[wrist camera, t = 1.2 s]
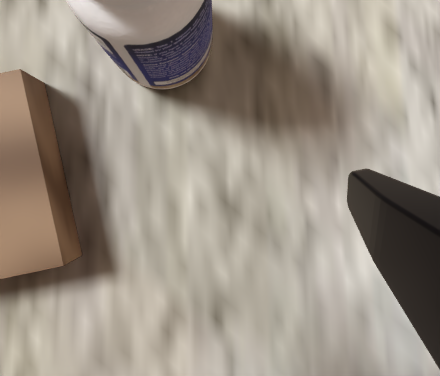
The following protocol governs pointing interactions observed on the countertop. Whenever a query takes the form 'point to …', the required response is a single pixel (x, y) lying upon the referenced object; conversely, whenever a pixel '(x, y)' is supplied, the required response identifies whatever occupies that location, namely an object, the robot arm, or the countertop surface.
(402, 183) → the robot arm
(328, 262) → the countertop surface
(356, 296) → the countertop surface
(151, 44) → the pill bottle
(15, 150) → the walnut block
